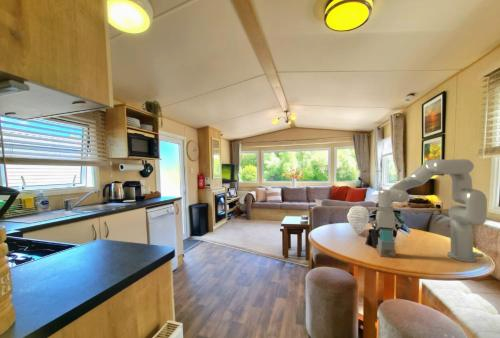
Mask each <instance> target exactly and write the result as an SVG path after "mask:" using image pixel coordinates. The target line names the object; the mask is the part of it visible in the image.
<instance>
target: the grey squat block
mask: <svg viewBox="0 0 500 338" xmlns="http://www.w3.org/2000/svg"><path fill="white" fill-rule="evenodd" d="M378 246H379V247H380V248H381V249H385V250H395V251H396V248H395V241H394V240H393V239H392V241H383V240H382V239H381V238H378Z"/></svg>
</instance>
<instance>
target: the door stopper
mask: <svg viewBox="0 0 500 338" xmlns="http://www.w3.org/2000/svg"><path fill="white" fill-rule="evenodd" d="M378 234H379V236H376V235H375V229H374V228H368V234H367V237H366V241H365V245H366V246H369V247H370V248H373V249H375V250H377V245H378V238H380V230H379V229H378Z"/></svg>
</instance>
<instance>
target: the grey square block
mask: <svg viewBox="0 0 500 338" xmlns="http://www.w3.org/2000/svg"><path fill="white" fill-rule="evenodd" d="M396 251H397V250H396V249H395V250H385V249H381V248H380V247H379V246H378V245H377V248H376V253H377V254H378V255H379V257H380V258H387V259H389V258H390V259H397V258H396V257H397V256H396Z"/></svg>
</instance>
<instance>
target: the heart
mask: <svg viewBox="0 0 500 338" xmlns="http://www.w3.org/2000/svg"><path fill="white" fill-rule="evenodd" d="M346 217H347V221H348V223H349V224H350V226H351V227H352V229H353V230H354V232H355V233H356V234H357V235H361V234H362V233H363V231H364V229H366V227H367V225H368V223H369V221H370V212H369V211H368V209H367V208H365V207H364V206H362V205H354V206H352V207H351V208H350V209H349V210H348V213H347V214H346Z"/></svg>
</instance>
